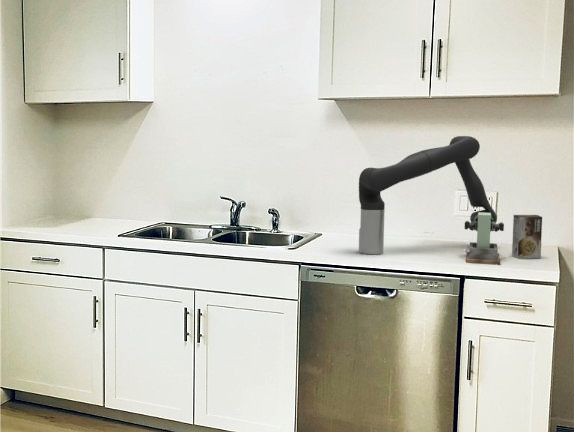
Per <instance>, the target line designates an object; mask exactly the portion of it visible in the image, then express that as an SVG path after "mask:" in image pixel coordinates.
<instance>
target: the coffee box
mask: <svg viewBox="0 0 574 432" xmlns="http://www.w3.org/2000/svg"><path fill="white" fill-rule="evenodd" d="M512 221H513V222H512V223H513V224H512V242H511V243H512V245H511V247H512V249H511V256H512V257H514V258H516V259H541V257H542V232H543V231H542V230H543V216H541V215H538V214H513V220H512Z"/></svg>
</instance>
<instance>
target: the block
mask: <svg viewBox="0 0 574 432" xmlns="http://www.w3.org/2000/svg"><path fill="white" fill-rule="evenodd" d="M490 227H491V213H482V212H478V228H477V231H476V232H477V233H476V234H477V235H476V243H477V248H488V249H490V243H491V242H490V241H491V232H490Z"/></svg>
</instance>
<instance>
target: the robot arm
mask: <svg viewBox="0 0 574 432" xmlns="http://www.w3.org/2000/svg"><path fill="white" fill-rule="evenodd" d="M479 152H480V142H479V141H478V139H476V138H475V137H473V136H469V135H458V136H454V137H453V138H451V140H450V142H449V144H448V145H445V146H440V147H433V148H428V149H423V150H419V151H417V152H414V153H412V154H409V155H407V156H405V158H403V159H402V160H400V161H399V162H397V163H395V164H392V165H390V166H385V167H367V168H364V169H363V170H362V171H361V172H360V174H359V177H358V201H359V203H360V221H359V222H360V223H359V224H360V226H359V227H360V228H359V230H358V254H364V255H382V254H384V248H385V247H384V244H385V243H384V239H385V237H384V236H385V212H386V211H385V202H384V200H383V199H382V196H381V192H383V191H385V190H387V189H389V188H391V187H393V186H395V185H397V184H399V183H402V182H404V181H409V180H412V179H415V178H418V177H422V176H424V175H427V174H429V173H432V172H434V171H437V170H439V169H441V168H443V167H446V166H448V165H450V164H455V166H456V167H457V170H458V172H459V175H460V178H461V179H462V183H463V184H464V187H465V191H466V193H467V198H468V201H469V204H470V206H471V207H473V208H483V209H482V210H481V209H480V210H478V211H474V212H472V213H471V214H470V216H469V217H470V218H469V219H470V221H469V220H465V222H464V230H468V229H469V230H470V231H472V232H473V231H476V232H477V228H478V212H482V213H491V227H490V233H491V232H496V233H498V232H499V231H501V232H503V231H504V230H505V227H504V226H505V223H503V222H501V221H500V222H498V223H497V221H498V215H497V213H496V212H495V210H494V209H493V207H492V205H491V204H490V201H489V200H488V198H487V193H486V191H485V187H484V184H483V183H482V180H481V179H480V177H479V176H478V174H477V172H476V171H475V169H474V168H473V165H472V163H471V160H470V159H472V158H474V157H476V156H477V155H478V153H479Z"/></svg>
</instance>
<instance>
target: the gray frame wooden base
mask: <svg viewBox="0 0 574 432" xmlns="http://www.w3.org/2000/svg"><path fill="white" fill-rule="evenodd" d="M498 248H499V247H498V244H497V243H491V242H490V249H488V248H477V242H472V241H471V242H469V249H468V251H466V253H465V254H466V255H465V263H466V264H482V265H496V264H497V265H498V266H500V265H501V257H500V253H499V251H498V250H499V249H498ZM497 265H496V266H497Z"/></svg>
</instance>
